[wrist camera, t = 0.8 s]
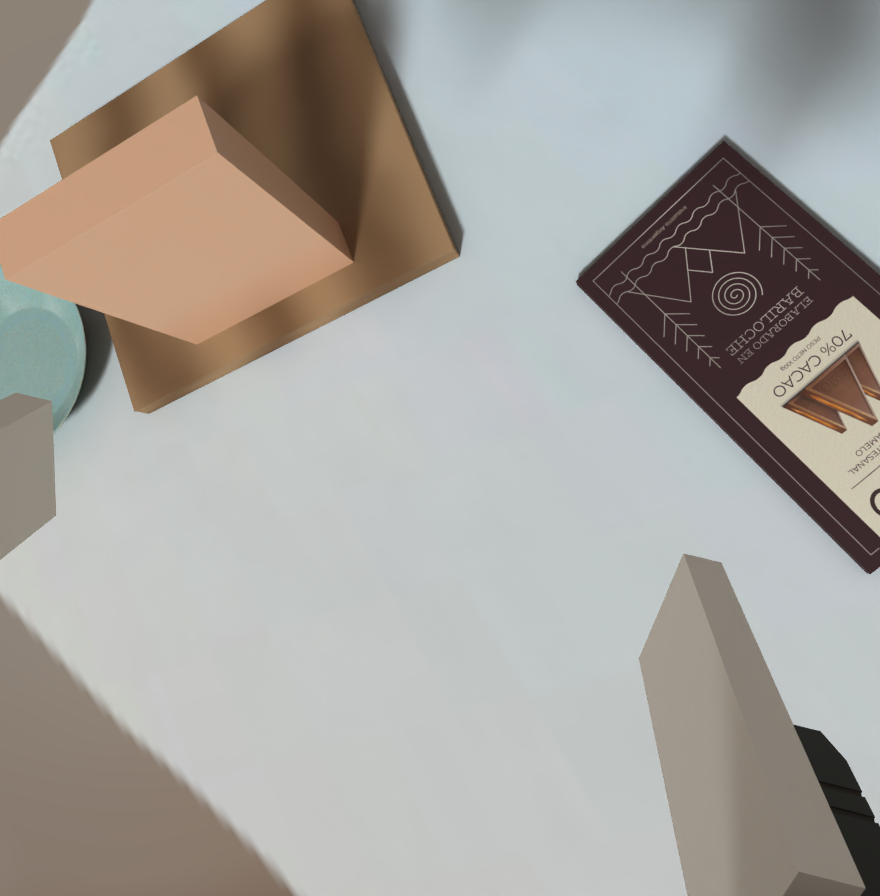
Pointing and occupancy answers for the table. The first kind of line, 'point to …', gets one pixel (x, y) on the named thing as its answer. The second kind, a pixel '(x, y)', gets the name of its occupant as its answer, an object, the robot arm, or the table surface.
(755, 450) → the chocolate bar
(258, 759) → the table surface
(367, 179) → the board
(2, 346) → the saucer
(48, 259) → the tile
